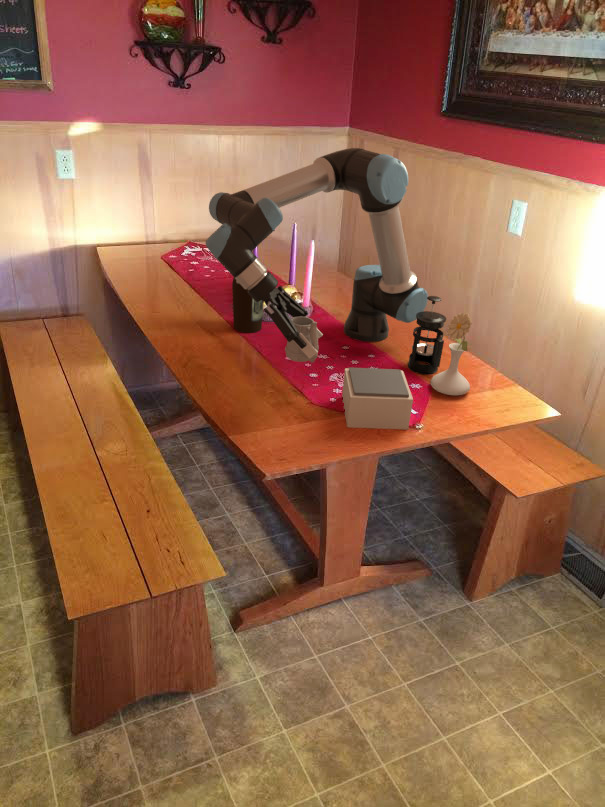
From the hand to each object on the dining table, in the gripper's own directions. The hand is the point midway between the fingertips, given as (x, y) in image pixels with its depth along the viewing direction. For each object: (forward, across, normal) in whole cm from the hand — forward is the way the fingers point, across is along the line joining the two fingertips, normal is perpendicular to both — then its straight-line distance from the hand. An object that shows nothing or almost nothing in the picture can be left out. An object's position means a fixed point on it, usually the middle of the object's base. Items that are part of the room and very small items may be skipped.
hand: (316, 346), depth 170 cm
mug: (+1, 0, -5) cm, 5 cm away
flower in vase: (+40, -20, +13) cm, 47 cm away
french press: (+35, -33, +8) cm, 49 cm away
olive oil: (-6, -48, -33) cm, 59 cm away
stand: (+25, -2, -1) cm, 25 cm away
